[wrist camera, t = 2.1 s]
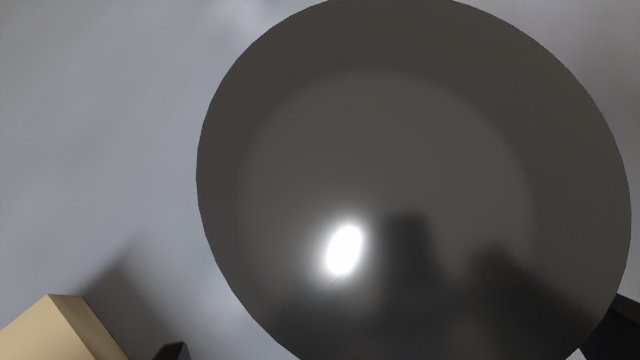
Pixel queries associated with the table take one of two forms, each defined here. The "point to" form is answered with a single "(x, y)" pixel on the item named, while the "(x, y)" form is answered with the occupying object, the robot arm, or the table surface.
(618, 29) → the table surface
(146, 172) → the table surface
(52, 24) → the table surface
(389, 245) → the canister
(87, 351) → the oak board
